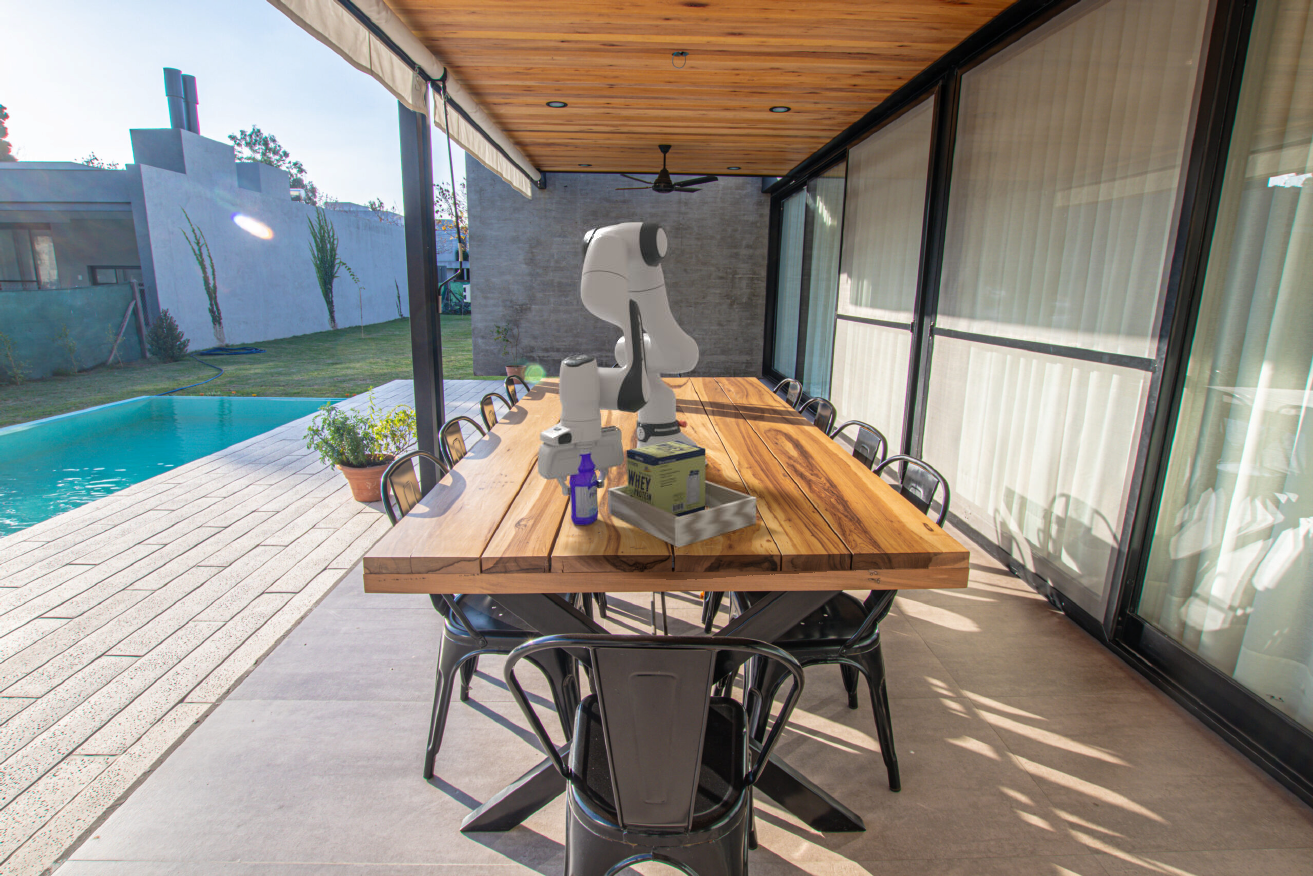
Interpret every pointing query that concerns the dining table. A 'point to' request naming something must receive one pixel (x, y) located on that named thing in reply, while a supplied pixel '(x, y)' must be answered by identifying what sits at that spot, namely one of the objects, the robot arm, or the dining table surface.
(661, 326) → the robot arm
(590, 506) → the bottle
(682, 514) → the protein box
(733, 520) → the crate
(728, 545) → the dining table surface
